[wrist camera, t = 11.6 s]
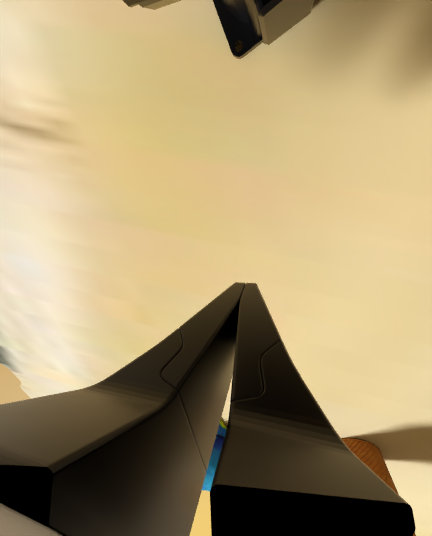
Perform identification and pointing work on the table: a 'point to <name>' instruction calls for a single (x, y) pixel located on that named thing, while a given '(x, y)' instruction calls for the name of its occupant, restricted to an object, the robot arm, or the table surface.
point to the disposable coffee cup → (371, 459)
